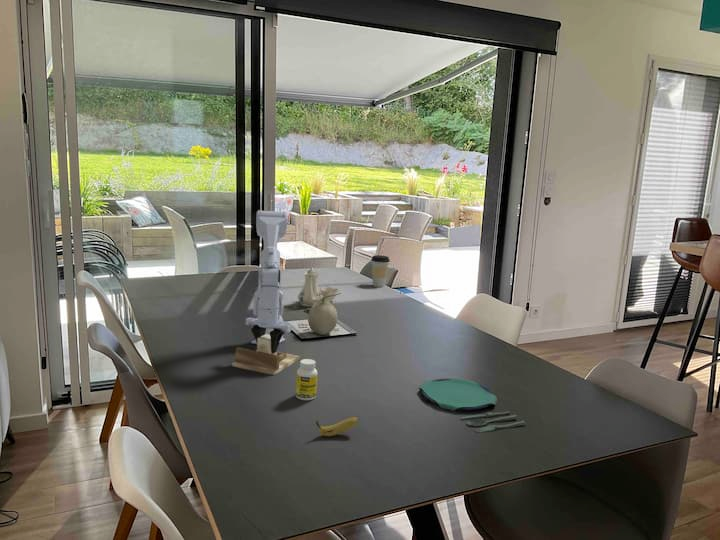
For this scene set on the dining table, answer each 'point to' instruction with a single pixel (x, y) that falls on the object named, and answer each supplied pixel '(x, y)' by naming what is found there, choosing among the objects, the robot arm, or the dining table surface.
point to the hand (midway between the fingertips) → (267, 351)
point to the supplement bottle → (306, 380)
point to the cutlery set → (465, 400)
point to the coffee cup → (379, 269)
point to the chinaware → (314, 290)
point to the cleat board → (263, 361)
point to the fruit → (322, 317)
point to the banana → (337, 427)
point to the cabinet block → (264, 344)
